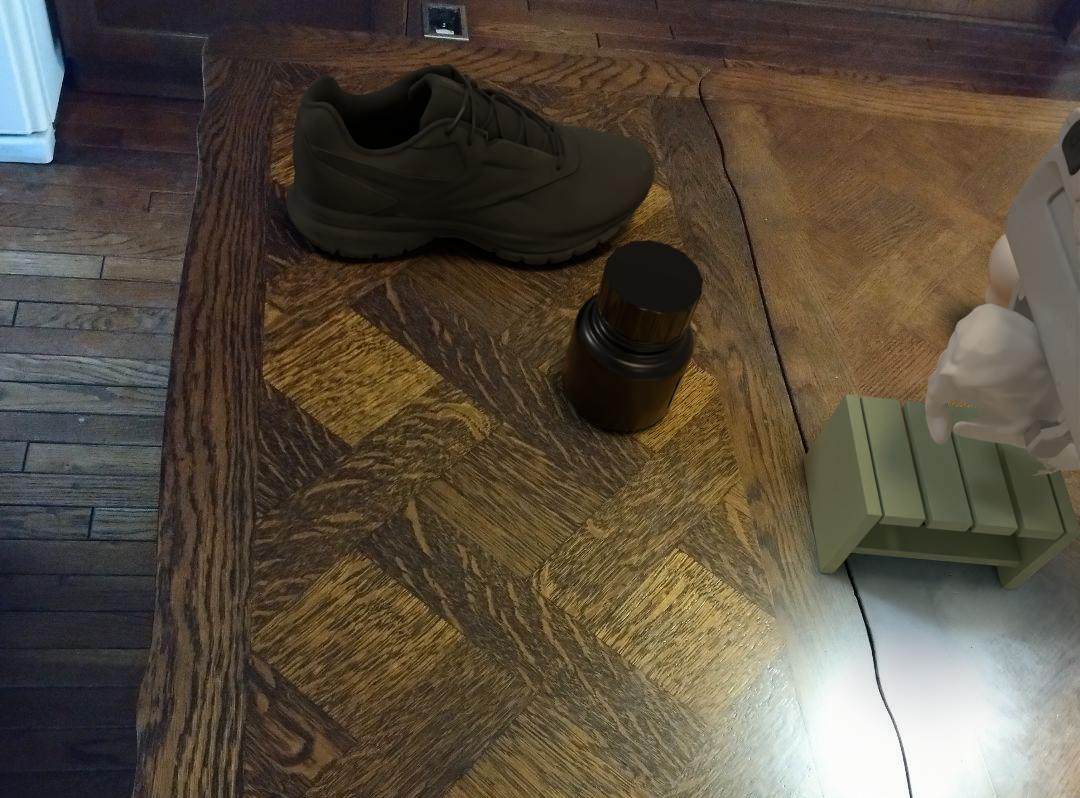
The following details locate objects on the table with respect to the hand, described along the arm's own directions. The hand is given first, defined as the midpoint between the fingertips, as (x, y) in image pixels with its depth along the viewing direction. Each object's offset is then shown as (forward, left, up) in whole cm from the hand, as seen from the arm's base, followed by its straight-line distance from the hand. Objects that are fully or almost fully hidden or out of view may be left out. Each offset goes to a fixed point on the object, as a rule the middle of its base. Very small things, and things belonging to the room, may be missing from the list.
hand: (1020, 395), depth 61 cm
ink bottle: (+22, -10, -15) cm, 29 cm away
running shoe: (+34, -26, -15) cm, 45 cm away
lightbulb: (-11, -21, -15) cm, 28 cm away
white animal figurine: (0, 0, -4) cm, 4 cm away
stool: (0, 0, -15) cm, 15 cm away
